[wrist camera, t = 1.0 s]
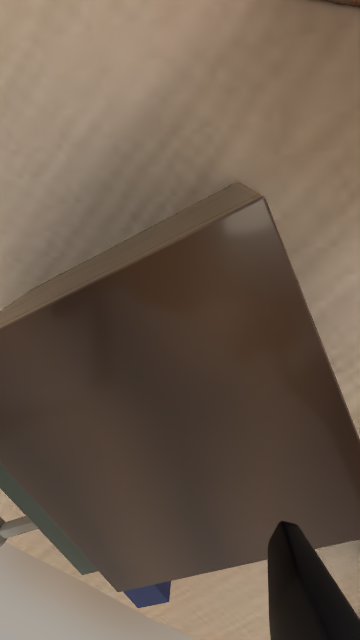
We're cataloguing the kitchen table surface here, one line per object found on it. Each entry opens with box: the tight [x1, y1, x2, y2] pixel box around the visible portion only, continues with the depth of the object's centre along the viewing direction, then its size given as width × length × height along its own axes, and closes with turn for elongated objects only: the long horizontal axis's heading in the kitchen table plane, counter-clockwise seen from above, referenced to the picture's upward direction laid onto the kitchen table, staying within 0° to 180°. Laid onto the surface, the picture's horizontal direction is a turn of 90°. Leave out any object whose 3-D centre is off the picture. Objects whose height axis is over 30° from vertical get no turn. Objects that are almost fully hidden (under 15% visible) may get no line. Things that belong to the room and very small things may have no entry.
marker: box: [123, 581, 171, 608], centre depth 28 cm, size 10×3×3 cm, turn 27°
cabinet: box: [0, 182, 360, 592], centre depth 18 cm, size 14×15×9 cm
